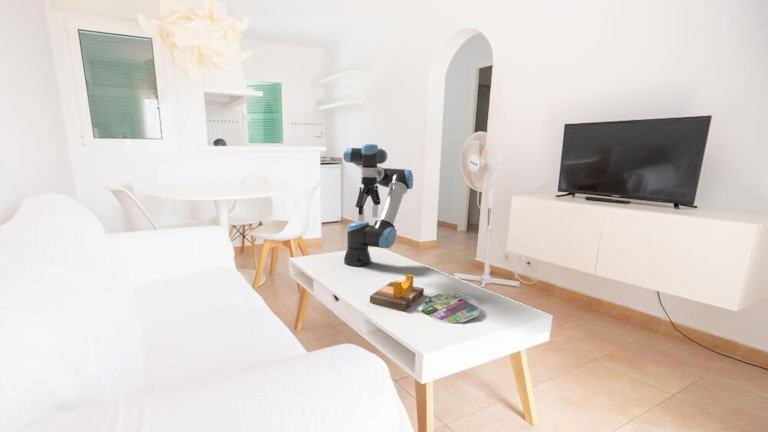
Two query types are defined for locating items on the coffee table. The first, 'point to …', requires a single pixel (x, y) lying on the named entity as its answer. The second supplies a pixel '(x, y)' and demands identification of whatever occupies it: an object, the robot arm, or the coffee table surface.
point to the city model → (451, 307)
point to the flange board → (401, 303)
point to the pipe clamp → (403, 286)
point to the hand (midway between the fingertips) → (368, 219)
